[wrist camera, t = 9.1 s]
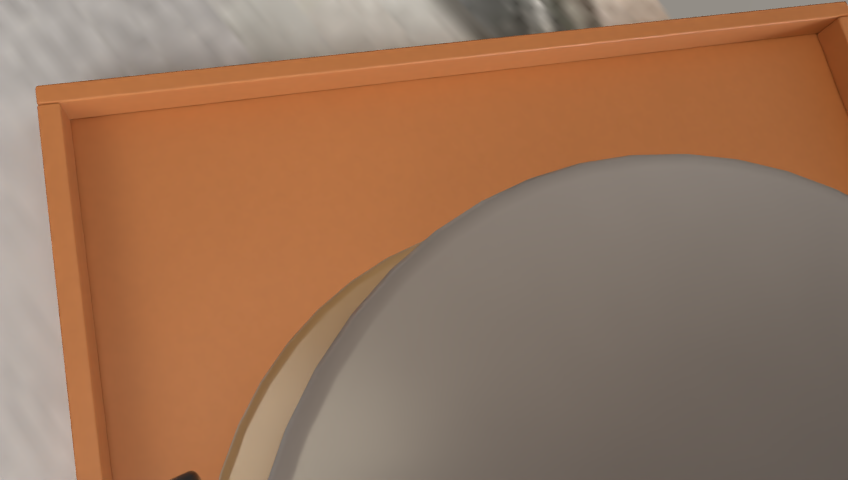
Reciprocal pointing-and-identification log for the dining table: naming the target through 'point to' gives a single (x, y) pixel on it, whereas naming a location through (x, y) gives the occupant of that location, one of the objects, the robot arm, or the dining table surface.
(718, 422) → the disc
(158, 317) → the tray
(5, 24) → the dining table surface
